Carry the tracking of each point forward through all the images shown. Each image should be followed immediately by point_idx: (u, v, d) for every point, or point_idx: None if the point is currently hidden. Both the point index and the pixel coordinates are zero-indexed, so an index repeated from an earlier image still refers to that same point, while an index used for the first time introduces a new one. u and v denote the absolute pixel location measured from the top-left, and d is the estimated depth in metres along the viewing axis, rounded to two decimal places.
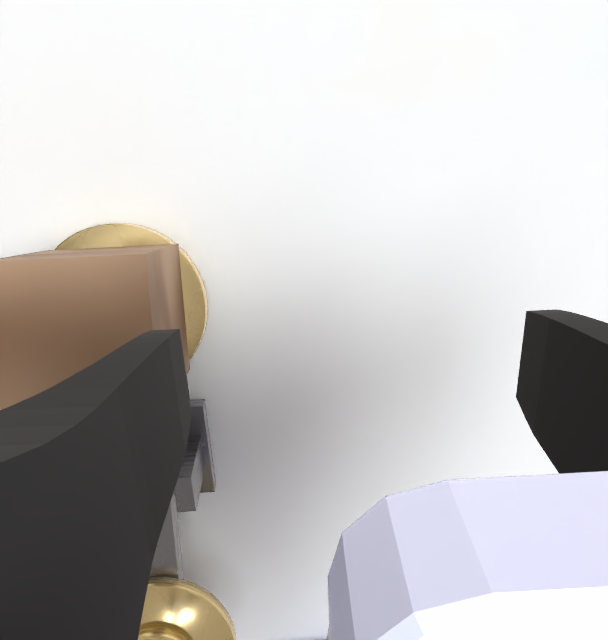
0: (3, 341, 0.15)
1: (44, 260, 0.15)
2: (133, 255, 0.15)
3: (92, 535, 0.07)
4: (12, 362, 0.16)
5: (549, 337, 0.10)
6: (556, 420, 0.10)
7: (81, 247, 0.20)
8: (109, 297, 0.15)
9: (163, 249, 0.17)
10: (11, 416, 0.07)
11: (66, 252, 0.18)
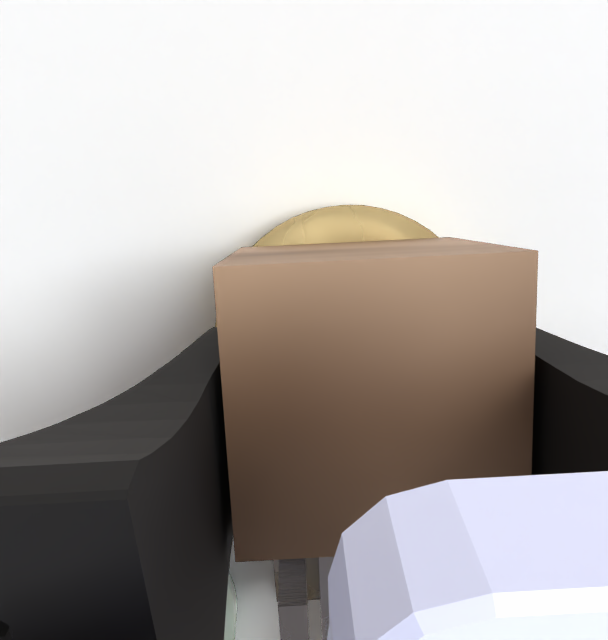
0: (252, 417, 0.08)
1: (344, 263, 0.08)
2: (517, 253, 0.08)
3: (198, 529, 0.07)
4: (263, 455, 0.08)
5: None
6: None
7: (296, 242, 0.12)
8: (460, 334, 0.08)
9: (484, 244, 0.10)
10: (114, 411, 0.07)
11: (309, 249, 0.10)
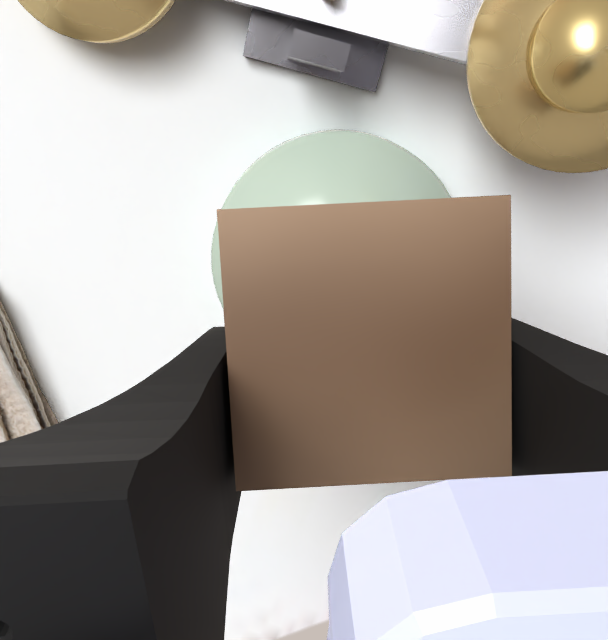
0: (252, 349, 0.09)
1: (336, 206, 0.09)
2: (492, 197, 0.09)
3: (198, 529, 0.07)
4: (263, 387, 0.09)
5: None
6: None
7: None
8: (442, 271, 0.09)
9: None
10: (114, 411, 0.07)
11: None
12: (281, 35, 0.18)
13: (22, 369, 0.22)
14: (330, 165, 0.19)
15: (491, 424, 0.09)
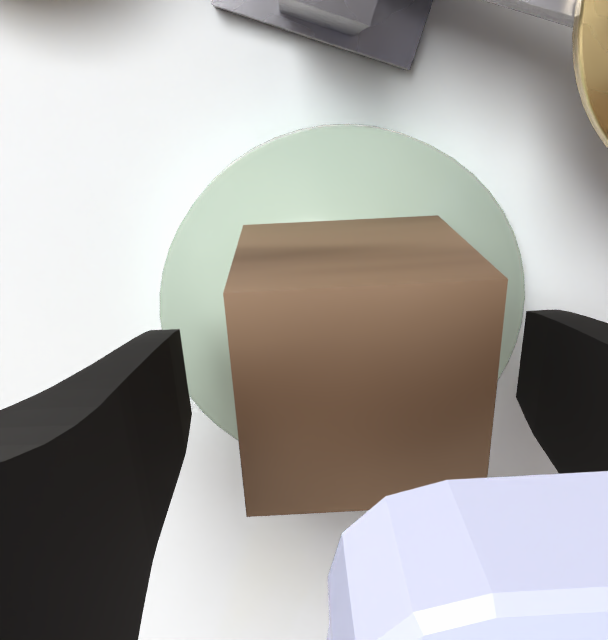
0: (258, 411, 0.10)
1: (338, 290, 0.09)
2: (489, 282, 0.09)
3: (92, 535, 0.07)
4: (268, 440, 0.10)
5: (549, 337, 0.10)
6: (556, 420, 0.10)
7: None
8: (437, 346, 0.09)
9: None
10: (11, 416, 0.07)
11: (307, 244, 0.11)
12: None
13: None
14: (338, 176, 0.13)
15: (470, 466, 0.10)
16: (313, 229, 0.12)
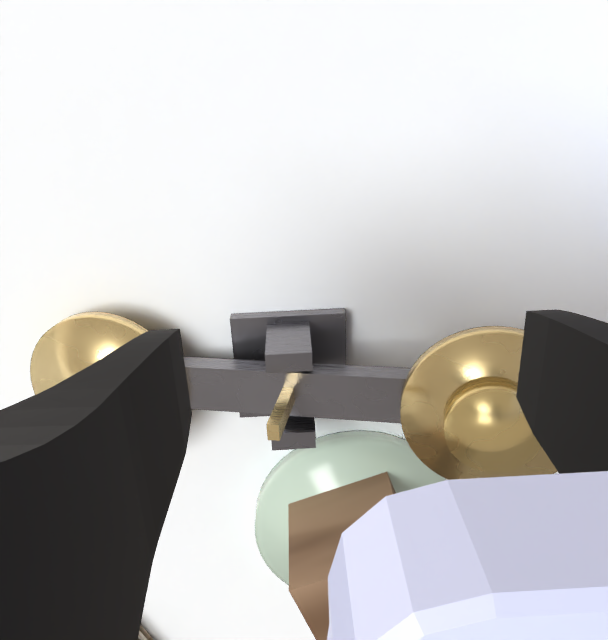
0: (320, 627, 0.21)
1: None
2: None
3: (92, 535, 0.07)
4: None
5: (549, 337, 0.10)
6: (556, 420, 0.10)
7: None
8: None
9: None
10: (11, 416, 0.07)
11: (321, 527, 0.22)
12: None
13: None
14: (328, 470, 0.24)
15: None
16: (323, 504, 0.24)
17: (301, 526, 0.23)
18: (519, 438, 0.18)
